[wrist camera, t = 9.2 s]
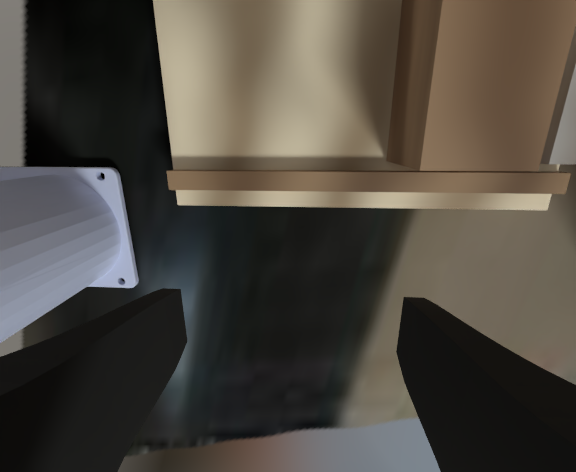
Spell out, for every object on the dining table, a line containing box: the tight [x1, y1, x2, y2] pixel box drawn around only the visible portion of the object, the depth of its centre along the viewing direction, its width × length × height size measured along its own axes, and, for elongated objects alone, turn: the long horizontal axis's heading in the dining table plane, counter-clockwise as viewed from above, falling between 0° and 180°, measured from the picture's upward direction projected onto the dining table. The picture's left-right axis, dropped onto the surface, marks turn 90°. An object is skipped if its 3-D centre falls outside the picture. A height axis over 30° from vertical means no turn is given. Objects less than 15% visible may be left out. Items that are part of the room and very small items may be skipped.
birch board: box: [153, 0, 576, 210], centre depth 14 cm, size 20×14×4 cm
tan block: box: [386, 0, 576, 171], centre depth 11 cm, size 4×10×5 cm, turn 0°
